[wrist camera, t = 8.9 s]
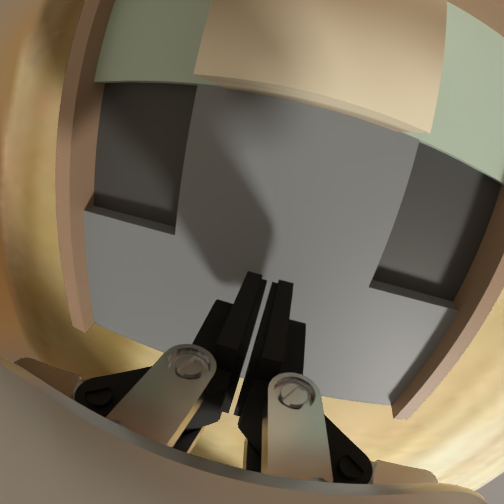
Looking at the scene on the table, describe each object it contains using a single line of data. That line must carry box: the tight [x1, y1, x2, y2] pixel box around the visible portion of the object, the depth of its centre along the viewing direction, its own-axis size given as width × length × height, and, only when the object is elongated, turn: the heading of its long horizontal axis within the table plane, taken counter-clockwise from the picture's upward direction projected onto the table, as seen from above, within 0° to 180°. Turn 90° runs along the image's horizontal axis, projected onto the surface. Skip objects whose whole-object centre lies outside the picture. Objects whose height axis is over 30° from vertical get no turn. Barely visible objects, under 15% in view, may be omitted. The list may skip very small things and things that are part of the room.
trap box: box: [56, 0, 504, 420], centre depth 9 cm, size 20×20×3 cm
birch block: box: [194, 0, 447, 133], centre depth 6 cm, size 6×6×3 cm
